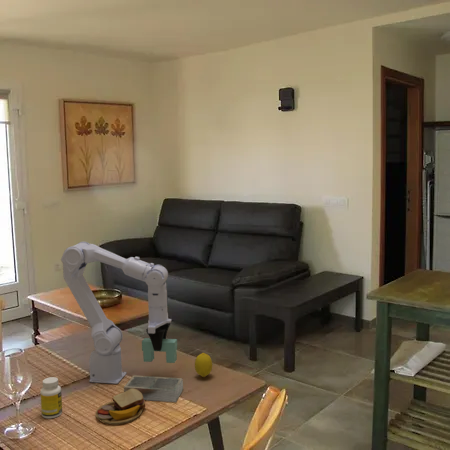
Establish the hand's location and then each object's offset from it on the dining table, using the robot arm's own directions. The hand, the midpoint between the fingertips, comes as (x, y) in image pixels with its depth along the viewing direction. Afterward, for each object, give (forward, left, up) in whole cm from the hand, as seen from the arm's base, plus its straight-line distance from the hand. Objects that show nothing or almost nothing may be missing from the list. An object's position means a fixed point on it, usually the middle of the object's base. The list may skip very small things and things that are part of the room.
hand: (159, 348), depth 162 cm
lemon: (+13, +4, -11) cm, 17 cm away
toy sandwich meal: (-5, -21, -11) cm, 25 cm away
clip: (0, 0, -4) cm, 4 cm away
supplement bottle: (-23, -25, -11) cm, 36 cm away
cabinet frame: (+1, -9, -10) cm, 14 cm away
